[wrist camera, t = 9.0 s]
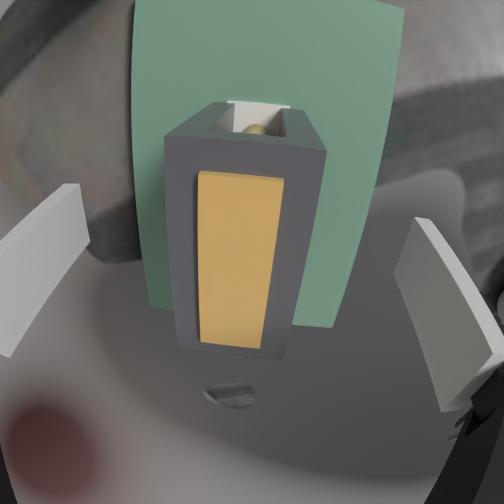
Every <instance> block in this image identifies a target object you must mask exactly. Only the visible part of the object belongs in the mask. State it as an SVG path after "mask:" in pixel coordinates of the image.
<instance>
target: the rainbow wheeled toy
mask: <svg viewBox="0 0 504 504" xmlns="http://www.w3.org/2000/svg"><path fill="white" fill-rule="evenodd" d="M497 314H498V316H499V318H500V319H501V321H502V324H503V325H504V290H503V292H502V293H501V295H500V297H499V299H498V302H497Z"/></svg>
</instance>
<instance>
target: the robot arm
mask: <svg viewBox="0 0 504 504" xmlns="http://www.w3.org/2000/svg"><path fill="white" fill-rule="evenodd" d="M89 242H90V238H89V234H88V229H87V224H86V219H85V213H84V208H83V202H82V196H81V190H80V184H66V183H65V184H64V185H62V186H61V187H60V188H59V189H57V190H56V191H55V192H54V193H53V194H51V195H50V196H49V197H48V198H47V199H45V200H44V201H43V202H42V203H41V204H40V205H38V206H37V207H36V208H35V209H34V210H33V211H32V212H31V213H29V214H28V215H27V216H26V217H25V218H24V219H23V220H22V221H21V222H20V223H19V224H17V225H16V226H15V227H14V228H13V229H12V230H11V231H10V232H9V233H8V234H7V235H6V236H5V237H4V238H3V239H2V240H1V241H0V354H2V355H4V356H6V357H9V358H10V357H11V356H12V354H13V352H14V350H15V349H16V347H17V345H18V344H19V342H20V340H21V339H22V337H23V336H24V334H25V332H26V331H27V329H28V328H29V326H30V325H31V323H32V321H33V320H34V318H35V317H36V315H37V314H38V312H39V311H40V309H41V308H42V306H43V305H44V303H45V302H46V300H47V299H48V297H49V296H50V295H51V293H52V292H53V290H54V289H55V288H56V286H57V285H58V283H59V282H60V280H61V279H62V278H63V276H64V275H65V274H66V272H67V271H68V270H69V268H70V267H71V266H72V264H73V263H74V262H75V260H76V259H77V258H78V256H79V255H80V254H81V252H82V251H83V250H84V249H85V247H86V246H87V245H88V244H89ZM393 274H394V277H395V279H396V281H397V284H398V286H399V289H400V291H401V294H402V296H403V299H404V302H405V304H406V306H407V309H408V312H409V314H410V317H411V320H412V323H413V325H414V328H415V331H416V334H417V336H418V339H419V342H420V345H421V348H422V351H423V354H424V357H425V360H426V363H427V366H428V369H429V372H430V376H431V379H432V382H433V386H434V389H435V392H436V396H437V399H438V403H439V407H440V410H441V412H445V411H452V410H458V409H461V407H463V405H465V404H466V402H468V401H469V400H470V399H471V400H472V403H473V407H472V408H471V409H470V410H469V411H468V412H467V413H466V414H465V415H464V416H463V417H462V418H460V419H459V420H458V421H457V423H456V424H455V425H454V426H455V427H458V426H459V425H460V424H461V423H462V422H464V424H463V426H462V428H461V431H460V433H459V435H458V438H457V440H456V443H455V445H454V447H453V449H452V451H451V454H450V456H449V458H448V460H447V462H446V464H445V466H444V468H443V470H442V472H441V474H440V476H439V477H438V480H437V481H436V483H435V485H434V487H433V489H432V490H431V492H430V494H429V496H428V497H427V499H426V501H425V503H424V504H504V325H503V324H502V321H501V319H500V318H499V316H498V315H497V312H496V311H495V309H494V307H493V305H492V304H491V302H490V301H489V300H488V299H487V298H486V297H485V296H484V295H483V294H482V293H481V292H480V291H478V289H477V288H476V286H475V285H474V283H473V281H472V280H471V278H470V277H469V275H468V273H467V272H466V270H465V269H464V267H463V266H462V264H461V263H460V261H459V260H458V258H457V257H456V255H455V254H454V252H453V251H452V249H451V248H450V247H449V245H448V244H447V242H446V241H445V239H444V238H443V236H442V235H441V234H440V232H439V231H438V230H437V228H436V227H435V225H434V224H433V223H432V222H431V220H429V219H424V218H417V217H414V219H413V222H412V225H411V227H410V230H409V233H408V236H407V239H406V241H405V245H404V247H403V250H402V252H401V255H400V258H399V260H398V263H397V266H396V268H395V270H394V273H393ZM0 504H18V503H17V501H16V498H15V496H14V492H13V489H12V486H11V482H10V479H9V476H8V472H7V469H6V465H5V462H4V458H3V454H2V450H1V445H0Z"/></svg>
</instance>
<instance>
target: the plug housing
mask: <svg viewBox="0 0 504 504" xmlns="http://www.w3.org/2000/svg"><path fill="white" fill-rule="evenodd" d="M234 110H235V103H224V102H213V103H211V104H210V105H208V106H207V107H205V108H204V109H202V110H201V111H199V112H198V113H196V114H195V115H193V116H192V117H190V118H189V119H187V120H186V121H185V122H183V123H182V124H180V125H179V126H177V127H176V128H175V129H173V130H172V131H170V132H169V133H168V134H166V135H165V136H164V174H165V203H166V223H167V240H168V254H169V267H170V279H171V290H172V300H173V310H174V318H175V327H176V335H177V344H178V348H183V349H190V350H197V351H204V352H211V353H219V354H228V355H236V356H245V357H254V358H266V359H276V360H283V358H284V354H285V350H286V345H287V342H288V338H289V334H290V330H291V326H292V321H293V317H294V313H295V309H296V305H297V300H298V296H299V291H300V287H301V283H302V278H303V274H304V269H305V264H306V260H307V255H308V250H309V245H310V241H311V236H312V231H313V226H314V221H315V216H316V211H317V205H318V200H319V195H320V189H321V184H322V178H323V173H324V167H325V161H326V156H327V149H326V148H325V146H324V144H323V142H322V140H321V139H320V137H319V135H318V134H317V132H316V130H315V128H314V127H313V125H312V123H311V122H310V120H309V118H308V117H307V115H306V113H305V112H304V110H297V109H290V108H282V114H281V123H280V131H279V136H270V135H261V134H250V133H239V132H233V124H234Z"/></svg>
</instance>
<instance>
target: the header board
mask: <svg viewBox="0 0 504 504" xmlns="http://www.w3.org/2000/svg"><path fill="white" fill-rule="evenodd" d="M403 19H404V9H402V8H399V7H396V6H393V5H390V4H386V3H383V2H379V1H375V0H136V1H135V12H134V26H133V43H132V70H131V122H132V151H133V169H134V184H135V197H136V208H137V218H138V228H139V237H140V245H141V253H142V261H143V268H144V275H145V282H146V289H147V294H148V301H149V307H150V308H156V309H162V310H169V311H174V310H173V300H172V290H171V279H170V267H169V254H168V240H167V223H166V203H165V174H164V136H165V135H166V134H168V133H169V132H170V131H172V130H173V129H175V128H176V127H177V126H179V125H180V124H182V123H183V122H185V121H186V120H187V119H189V118H190V117H192V116H193V115H195V114H196V113H198V112H199V111H201V110H202V109H204V108H205V107H207V106H208V105H210V104H211V103H213V102H224V103H235V110H234V124H233V132H239V133H250V134H261V135H270V136H279V131H280V123H281V114H282V108H290V109H297V110H304V112H305V113H306V115H307V117H308V118H309V120H310V122H311V123H312V125H313V127H314V128H315V130H316V132H317V134H318V135H319V137H320V139H321V140H322V142H323V144H324V146H325V148H326V149H327V156H326V161H325V167H324V173H323V178H322V184H321V189H320V195H319V200H318V205H317V211H316V216H315V221H314V226H313V231H312V236H311V241H310V245H309V250H308V255H307V260H306V264H305V269H304V274H303V278H302V283H301V287H300V291H299V296H298V300H297V305H296V309H295V313H294V317H293V321H292V325H302V326H316V327H330V328H332V326H333V324H334V321H335V318H336V315H337V312H338V309H339V306H340V303H341V300H342V297H343V294H344V291H345V288H346V285H347V282H348V279H349V276H350V273H351V270H352V266H353V263H354V260H355V256H356V253H357V250H358V246H359V243H360V239H361V236H362V232H363V229H364V225H365V221H366V218H367V214H368V210H369V206H370V203H371V199H372V195H373V191H374V187H375V183H376V178H377V174H378V170H379V165H380V161H381V157H382V152H383V147H384V143H385V138H386V133H387V128H388V123H389V117H390V112H391V106H392V101H393V95H394V89H395V82H396V76H397V69H398V62H399V55H400V47H401V38H402V29H403Z"/></svg>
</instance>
